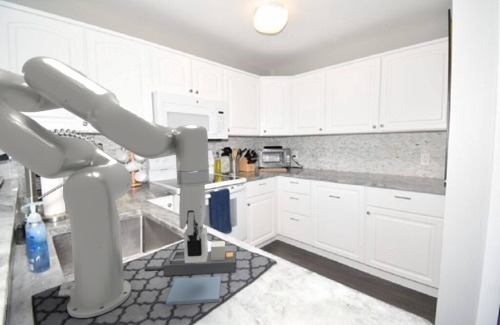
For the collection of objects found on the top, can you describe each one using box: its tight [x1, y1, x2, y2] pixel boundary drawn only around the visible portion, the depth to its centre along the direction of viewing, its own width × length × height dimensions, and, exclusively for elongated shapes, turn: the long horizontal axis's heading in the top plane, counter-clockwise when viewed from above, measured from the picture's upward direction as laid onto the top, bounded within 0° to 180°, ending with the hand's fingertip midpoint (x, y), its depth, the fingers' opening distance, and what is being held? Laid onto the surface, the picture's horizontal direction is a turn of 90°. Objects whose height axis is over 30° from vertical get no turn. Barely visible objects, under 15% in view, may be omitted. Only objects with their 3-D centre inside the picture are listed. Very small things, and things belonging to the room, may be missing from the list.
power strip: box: [144, 240, 236, 277], centre depth 67 cm, size 26×7×7 cm, turn 95°
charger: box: [183, 225, 208, 263], centre depth 56 cm, size 5×4×8 cm
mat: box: [165, 275, 222, 306], centre depth 57 cm, size 12×9×1 cm
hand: (196, 250), depth 56 cm, fingers closed on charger, 4 cm apart
